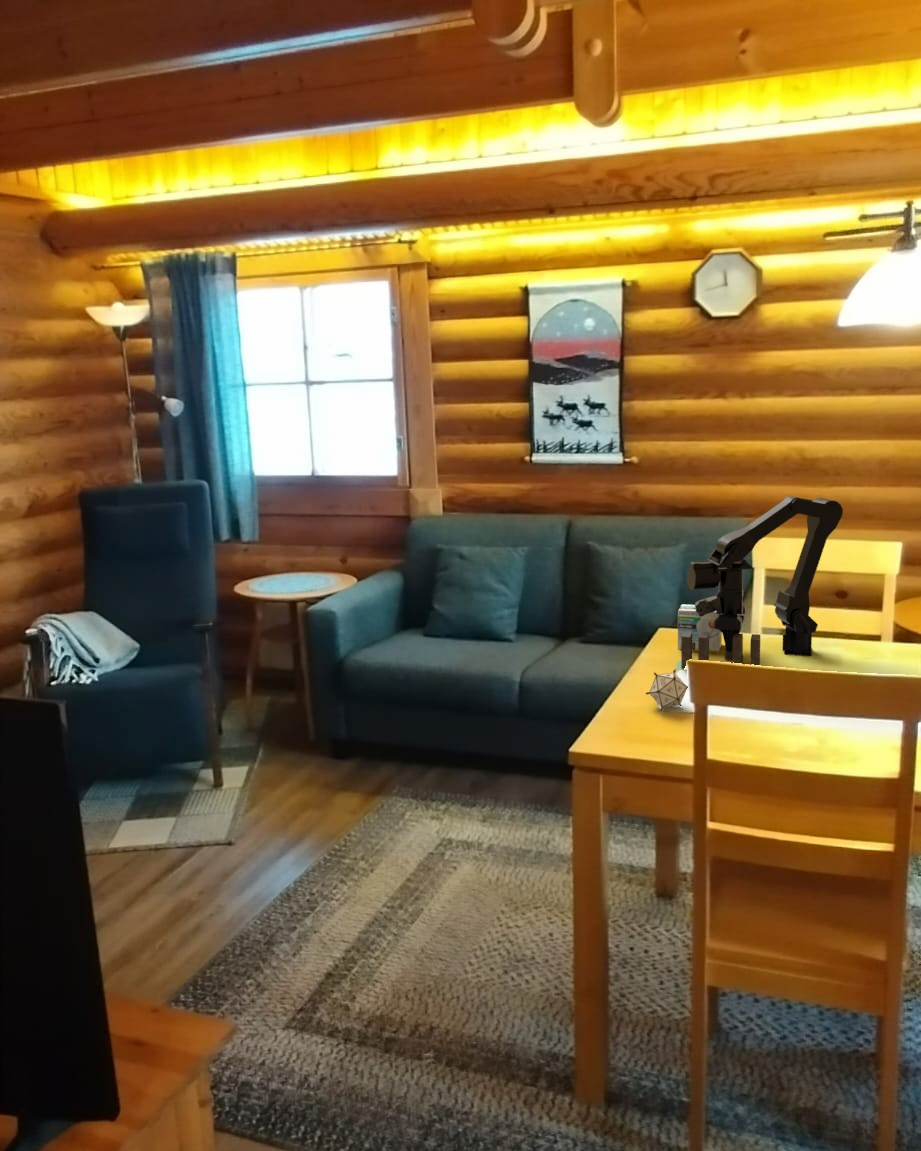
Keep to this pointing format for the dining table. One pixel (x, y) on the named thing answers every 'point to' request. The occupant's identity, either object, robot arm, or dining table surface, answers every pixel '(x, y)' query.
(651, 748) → the dining table surface
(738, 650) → the domino
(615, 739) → the dining table surface
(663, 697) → the game die
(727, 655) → the domino
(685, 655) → the domino
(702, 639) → the domino
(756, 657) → the domino
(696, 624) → the light bulb box
